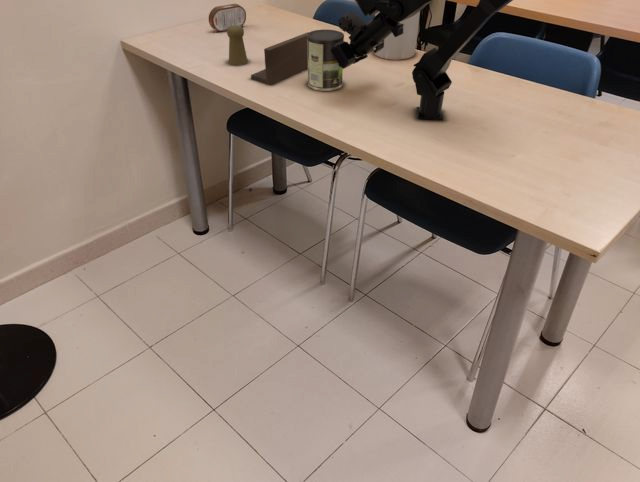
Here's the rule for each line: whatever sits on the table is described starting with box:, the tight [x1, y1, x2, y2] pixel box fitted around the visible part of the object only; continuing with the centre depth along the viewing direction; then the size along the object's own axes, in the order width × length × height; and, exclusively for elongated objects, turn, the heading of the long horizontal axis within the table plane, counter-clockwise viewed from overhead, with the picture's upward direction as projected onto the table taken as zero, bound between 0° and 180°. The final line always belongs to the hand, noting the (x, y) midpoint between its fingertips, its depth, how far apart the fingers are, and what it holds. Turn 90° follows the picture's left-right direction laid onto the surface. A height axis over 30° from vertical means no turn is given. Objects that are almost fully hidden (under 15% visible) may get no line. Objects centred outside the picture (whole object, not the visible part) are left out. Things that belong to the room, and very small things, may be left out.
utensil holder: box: [374, 10, 421, 61], centre depth 163 cm, size 15×15×18 cm
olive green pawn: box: [226, 25, 249, 66], centre depth 158 cm, size 6×6×11 cm
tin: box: [208, 3, 247, 32], centre depth 186 cm, size 15×3×8 cm, turn 130°
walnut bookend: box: [250, 31, 310, 86], centre depth 151 cm, size 8×20×10 cm, turn 143°
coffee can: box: [307, 29, 345, 92], centre depth 142 cm, size 10×10×14 cm
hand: (339, 64), depth 140 cm, fingers closed
